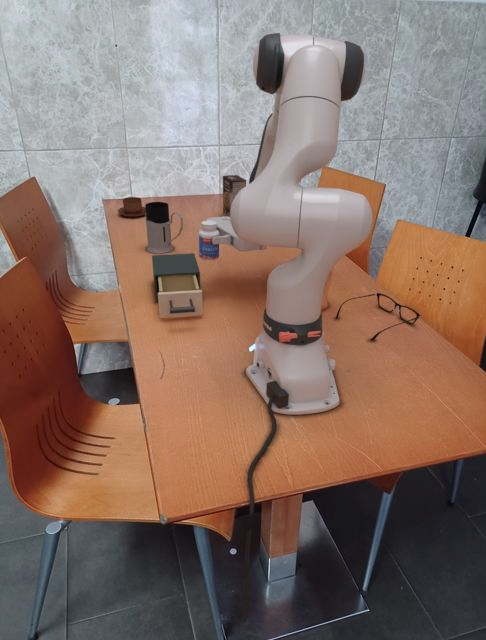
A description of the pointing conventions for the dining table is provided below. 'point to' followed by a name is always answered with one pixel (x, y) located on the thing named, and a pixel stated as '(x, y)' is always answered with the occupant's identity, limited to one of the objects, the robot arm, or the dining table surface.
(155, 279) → the cabinet
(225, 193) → the coffee box
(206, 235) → the pill bottle
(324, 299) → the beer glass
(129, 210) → the brown round flanged piece
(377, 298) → the eyeglasses
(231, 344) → the dining table surface
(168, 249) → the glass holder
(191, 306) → the drawer
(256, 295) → the dining table surface
